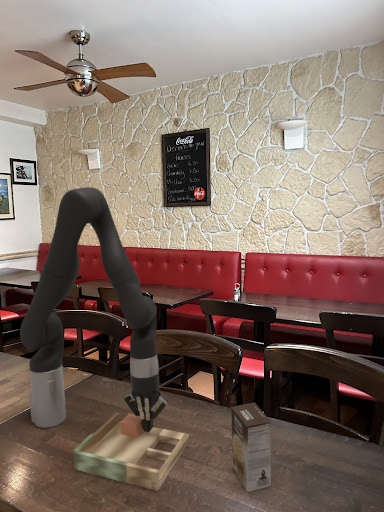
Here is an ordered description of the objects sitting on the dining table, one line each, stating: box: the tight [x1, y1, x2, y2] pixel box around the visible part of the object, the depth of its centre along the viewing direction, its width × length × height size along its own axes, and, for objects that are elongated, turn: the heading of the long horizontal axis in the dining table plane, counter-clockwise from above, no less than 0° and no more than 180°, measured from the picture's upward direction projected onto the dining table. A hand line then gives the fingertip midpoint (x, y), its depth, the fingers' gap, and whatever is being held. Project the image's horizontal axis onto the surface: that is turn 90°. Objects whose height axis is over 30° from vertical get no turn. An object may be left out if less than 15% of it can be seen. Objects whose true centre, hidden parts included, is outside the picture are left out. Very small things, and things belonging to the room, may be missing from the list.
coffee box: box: [231, 402, 272, 493], centre depth 90 cm, size 9×6×16 cm
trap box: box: [73, 411, 191, 492], centre depth 101 cm, size 23×20×5 cm
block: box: [120, 412, 143, 437], centre depth 108 cm, size 5×5×4 cm
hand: (147, 430), depth 107 cm, fingers closed
